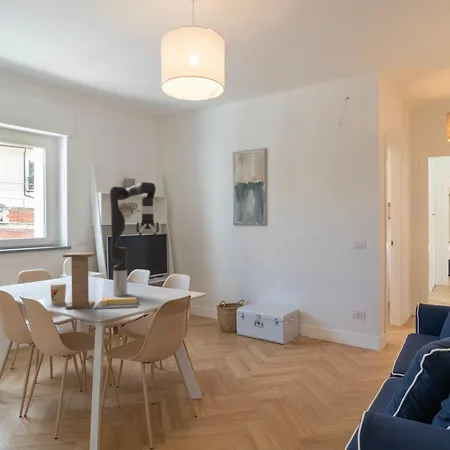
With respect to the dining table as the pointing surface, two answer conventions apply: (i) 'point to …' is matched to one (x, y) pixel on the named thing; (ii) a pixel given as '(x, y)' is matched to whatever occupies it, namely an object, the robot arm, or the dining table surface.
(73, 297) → the walnut stand
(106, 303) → the mustard bar
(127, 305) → the grey mat
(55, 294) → the coffee cup
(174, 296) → the dining table surface
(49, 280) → the dining table surface
